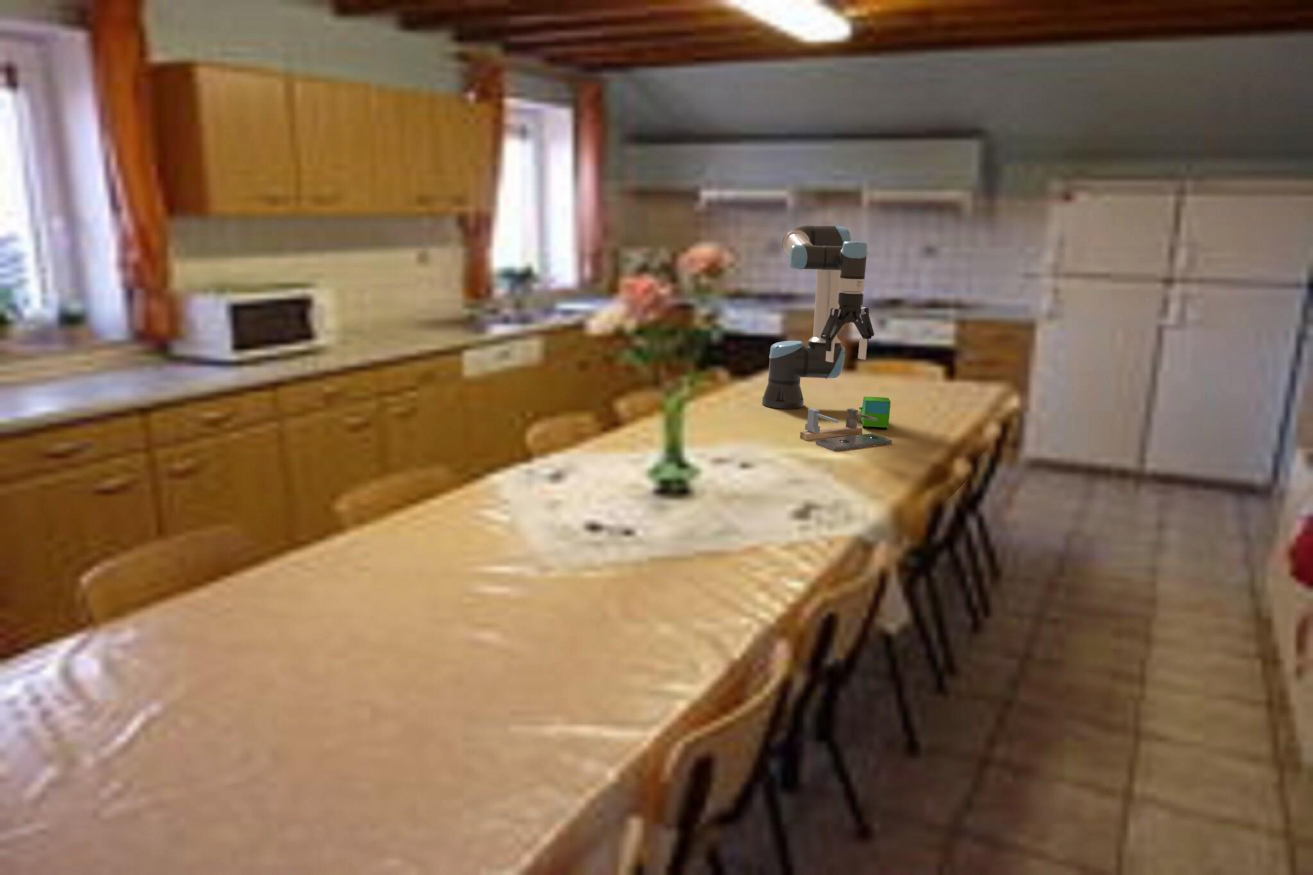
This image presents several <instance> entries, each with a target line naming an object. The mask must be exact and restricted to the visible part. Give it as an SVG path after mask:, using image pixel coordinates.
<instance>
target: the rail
mask: <svg viewBox="0 0 1313 875" xmlns="http://www.w3.org/2000/svg"><path fill="white" fill-rule="evenodd" d="M858 417H859V418H860V417H863V418H866V419H869V420H872V421H877V420H878V419H877V418H873V417H870V416H867V415H864V414H861V413H860V412H859V410H858V409H856V408H852V407H851V408H847V409H846V419H845V420H846V421H845V426H840V427H832V428H823V429H821V428H820V433H813V432H810V431H807V430H804V431H800V432H799V433H800V434H799V438H800V439H801V440H804V441H811V440H821V439H829V438H838V437H846V436H854V435H860V434H859V433H861V434H863V426H859V425H858Z"/></svg>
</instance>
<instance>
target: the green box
mask: <svg viewBox="0 0 1313 875" xmlns="http://www.w3.org/2000/svg"><path fill="white" fill-rule="evenodd" d="M891 402H892V401H891V400H890V398H889V397H880V396H863V400H862V407H860V406H859V408H858V409H859V410H860V412H859V413H861V414H864V415H867V416H870V417H873V418H877V419H878V420H877V421H872V420H869V419H866V418H863V417H860V416H859V419H860V420H859V422H860V423H861V424H862V429H867V427H875V428H884V429H883V430H887V429H888V428H889V424H890V423H889V422H890V412H891Z"/></svg>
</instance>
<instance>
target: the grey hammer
mask: <svg viewBox="0 0 1313 875" xmlns="http://www.w3.org/2000/svg"><path fill="white" fill-rule="evenodd" d="M819 418H821V419H824V420H826V421H829V422H832V423H835V424H838V423H839V420H838V419H836V418H834V417H830V416H826V415H823V414H821V413H820V410H819V409H816V408H815V407H814V408H808V409H807V419H806V420H807V422H806V423H804V431H810V432H813V433H820V430H821V426H820V425H819Z"/></svg>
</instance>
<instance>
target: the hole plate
mask: <svg viewBox="0 0 1313 875" xmlns="http://www.w3.org/2000/svg"><path fill="white" fill-rule="evenodd" d="M815 444H816V445H817V446H820V447H823V448H825V449H828V450H830V451H834V452H838V451H844V450H853V449H860V448H859V447H862V448H867V447H875V446H874V445H877V446H883V445H884V444H885V445H890V444H891V445H892V444H893V439H890V438H887V437H885V436H882V435H878V434H875V433H874V432H873V433H865V434H864V433H862V434H854V435H846V436H838V437H829V438H821V439H815Z"/></svg>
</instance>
